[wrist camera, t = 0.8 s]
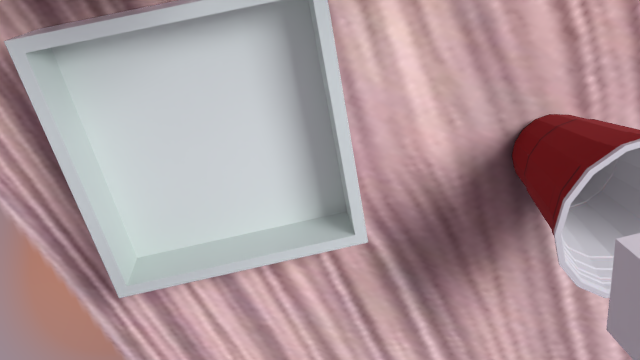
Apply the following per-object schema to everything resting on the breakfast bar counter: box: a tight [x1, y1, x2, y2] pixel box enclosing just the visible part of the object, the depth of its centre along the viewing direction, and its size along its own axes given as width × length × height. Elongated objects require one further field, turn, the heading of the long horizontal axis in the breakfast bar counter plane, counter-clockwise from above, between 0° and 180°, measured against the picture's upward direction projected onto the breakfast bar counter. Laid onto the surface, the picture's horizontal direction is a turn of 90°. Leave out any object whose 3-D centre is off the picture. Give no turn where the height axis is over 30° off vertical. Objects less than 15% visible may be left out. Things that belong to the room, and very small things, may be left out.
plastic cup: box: [512, 114, 640, 298], centre depth 33 cm, size 11×11×12 cm
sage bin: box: [4, 0, 368, 298], centre depth 33 cm, size 18×18×4 cm
